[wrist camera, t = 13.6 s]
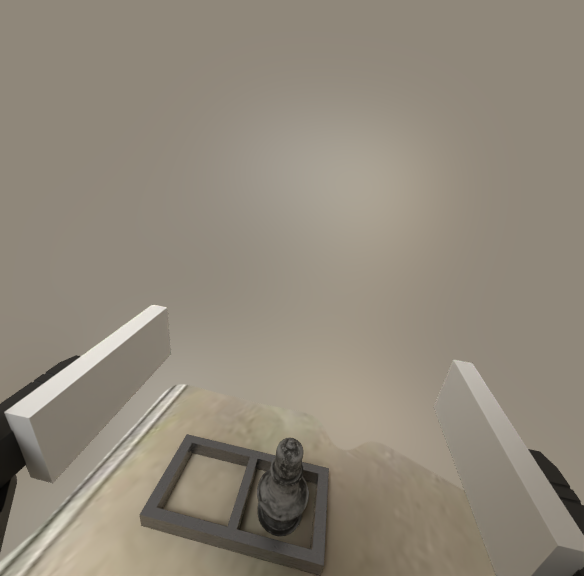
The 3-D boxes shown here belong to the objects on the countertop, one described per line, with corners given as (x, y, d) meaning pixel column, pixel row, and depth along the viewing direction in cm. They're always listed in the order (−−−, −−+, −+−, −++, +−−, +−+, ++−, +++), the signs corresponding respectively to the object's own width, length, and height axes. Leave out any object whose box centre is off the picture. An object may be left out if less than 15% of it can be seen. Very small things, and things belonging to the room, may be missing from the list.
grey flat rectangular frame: (326, 478, 38) (328, 468, 37) (320, 575, 29) (323, 565, 28) (187, 444, 40) (186, 434, 39) (141, 525, 31) (139, 514, 30)
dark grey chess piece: (244, 516, 33) (251, 444, 28) (273, 474, 38) (283, 406, 33) (287, 552, 30) (303, 479, 26) (313, 503, 35) (330, 433, 30)
